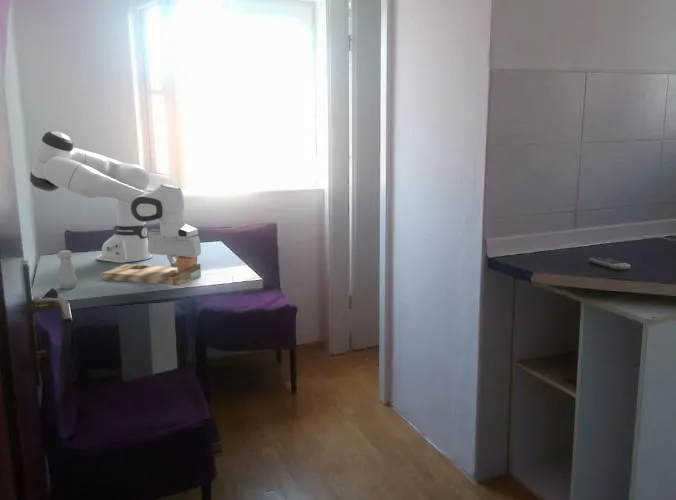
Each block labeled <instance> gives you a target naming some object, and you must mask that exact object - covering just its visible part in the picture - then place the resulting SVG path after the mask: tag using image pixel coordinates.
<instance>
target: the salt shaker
mask: <svg viewBox="0 0 676 500" xmlns="http://www.w3.org/2000/svg"><path fill="white" fill-rule="evenodd" d="M72 255H73V253H72V251H70V250H67V249H66V250H60V251H59V252H58V253H57V256H58V257H57V258H59V260H60V262H59V263H60V265H59V273H58V284H59V285H60V287H61V289H62V290H72V289H74V288H76V285H77V282H78V279H77V276H76V272H75V270H74V266H73V263H72V260H71V258H72V257H73V256H72Z"/></svg>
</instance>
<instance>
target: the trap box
mask: <svg viewBox="0 0 676 500" xmlns="http://www.w3.org/2000/svg"><path fill="white" fill-rule="evenodd" d="M201 270H202V269H201V263H197V264H196V265H194V266H192V267H189V268H187V269H185V270H182V271H180V272H178V268H174V267H171V266H164V265H163V266H161V265H147V264H134V263H133V264H130V263H125V264H122V265H120V266H117V267H113V268H111V269H108V270H105V271H103V272H101V273H102V275H101V276H102V280H108V281H119V282H120V281H121V282H133V283H134V282H135V283H145V284H147V283H148V284H157V285H158V284H159V285H172V286H182V285H184V284H186V283H188V281H189V282H191V281H193V280H194V279H197V278H199V277H201V276H202V274H201V273H202V271H201ZM190 280H191V281H190Z"/></svg>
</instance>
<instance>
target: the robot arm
mask: <svg viewBox="0 0 676 500" xmlns="http://www.w3.org/2000/svg"><path fill="white" fill-rule="evenodd" d="M150 177H151V176H150V174H149V172H148V171H147V170H146V169H145V168H144V167H142V166H141V165H139V164H136V163H135V164H134V163H128V162H122V161H119V160H117V159H113V158H110V157H108V156H105V155H102V154H99V153H95V152H92V151H88V150H86V149H82V148H78V147H74V142H73V140H72V138H71V137H69V136H68V135H66V134H65V133H63V132H60V131H56V130H55V131H53V130H50V131H47V132H45V133H44V134H43V136H42V138H41V142H40V144H39V146H38V148H37V150H36V153H35V158H34V161H33V164H32V169H31V172H30V174H29V181H30V183H31V185H32V186H34V187H35V188H37V189H39V190H40V191H44V192H53V191H56V190H59V188H60V189H62V190H63V191H66V192H67V193H70V194H73V195H74V196H79V197H83V198H87V199H95V198H112V199H116V200H117V203H116V206H115V210H116V211H115V212H116V221H117V222H116V225H115V226H112V227H111V230H112V231H114V234H113V235H112V236H110V237H109V238H108V239H107V240H106V241H104V242H103V244H102V247H101V254H99V255H97V256H96V260H97V261H98V260H99V261H105V262H113V263H118V264H123V263H129V262H140V261H145V260H149V259H151V258H153V255H161V256H166V257H167V260H168V262H169V263H170V267H174V268H178V266H177V258H178V257H181V256H186V257H197V258H198V256H200V255H201V253H202V251H201V250H202V248H201V240H200V237H199V236H198V234H199V229H198V228H197V227H194V226H192V225H189V224H188V223H186V219H185V217H184V216H185V215H184V212H185V200H184V195H183V191H182V189H181V188H180V187H179V186H177V185H174V184H168V183H165V184H160V185H159V186H158V187H156V188H155V189H153V190H147V188H148V186H149V185H150V181H151V178H150ZM156 220H157V221H159V228H151V229H150V230H149V231H148V225H147V222H148V223H149V222H152V221H156ZM174 256H175V257H174ZM174 258H175V259H176V260H175V259H174Z"/></svg>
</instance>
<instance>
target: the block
mask: <svg viewBox="0 0 676 500" xmlns="http://www.w3.org/2000/svg"><path fill="white" fill-rule="evenodd" d="M176 260H177V266H178V272H180V271H182V270H185V269H187V268H189V267H192V266H194V265H196V264H198V256H197V257H186V256H181V257H178V258H177V259H176Z"/></svg>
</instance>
